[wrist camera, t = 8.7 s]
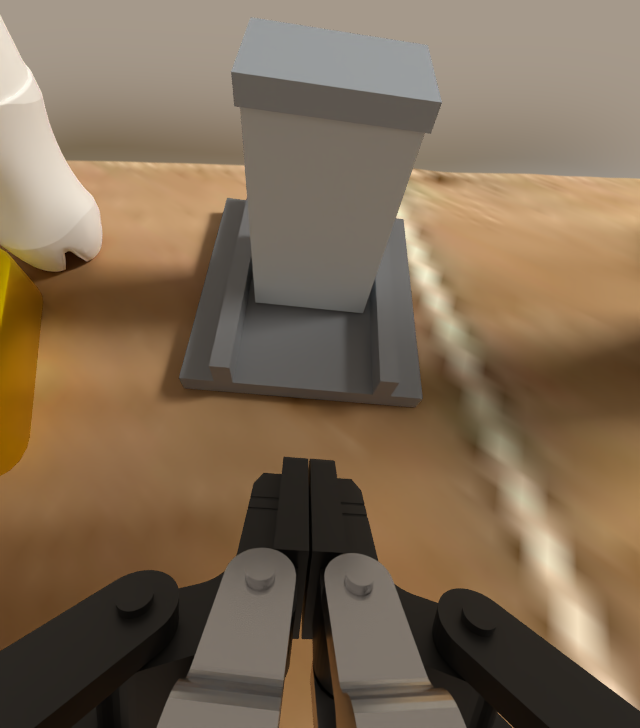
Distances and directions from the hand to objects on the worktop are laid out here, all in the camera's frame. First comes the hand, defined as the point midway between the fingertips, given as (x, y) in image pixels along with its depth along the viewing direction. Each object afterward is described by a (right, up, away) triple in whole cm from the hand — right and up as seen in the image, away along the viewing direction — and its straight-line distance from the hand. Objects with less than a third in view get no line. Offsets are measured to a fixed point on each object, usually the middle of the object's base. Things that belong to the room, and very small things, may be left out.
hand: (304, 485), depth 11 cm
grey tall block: (0, +10, +17) cm, 20 cm away
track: (0, +9, +19) cm, 21 cm away
